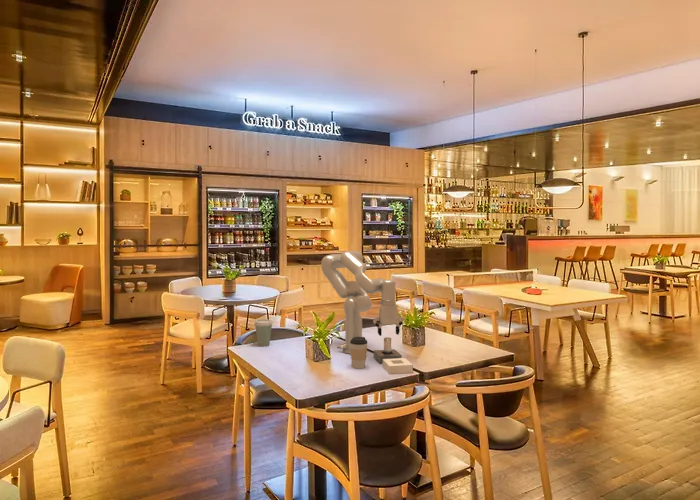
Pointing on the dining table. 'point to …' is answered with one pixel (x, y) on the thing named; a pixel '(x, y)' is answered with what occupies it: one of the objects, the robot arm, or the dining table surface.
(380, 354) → the block
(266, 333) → the disposable coffee cup
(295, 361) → the dining table surface
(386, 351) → the pin
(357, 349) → the coffee cup
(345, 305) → the robot arm
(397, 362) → the socket block
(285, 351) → the dining table surface
